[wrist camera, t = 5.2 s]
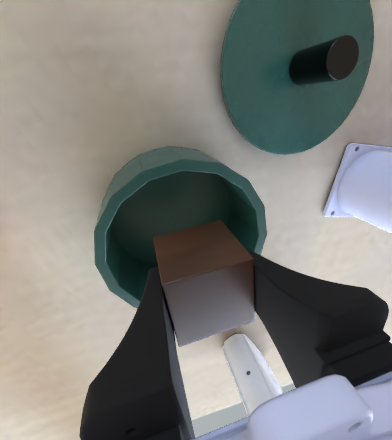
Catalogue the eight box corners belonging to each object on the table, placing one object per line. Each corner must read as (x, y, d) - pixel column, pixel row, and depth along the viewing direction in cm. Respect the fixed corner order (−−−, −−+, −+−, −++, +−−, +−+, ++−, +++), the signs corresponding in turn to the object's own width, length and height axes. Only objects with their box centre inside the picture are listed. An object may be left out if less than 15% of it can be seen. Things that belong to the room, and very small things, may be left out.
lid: (372, -58, 17) (460, -119, 12) (353, 131, 23) (408, 136, 18) (200, -24, 15) (231, -80, 11) (231, 169, 21) (258, 185, 17)
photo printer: (215, 344, 31) (261, 466, 21) (242, 327, 31) (302, 441, 21) (244, 374, 36) (293, 485, 26) (267, 359, 36) (326, 464, 26)
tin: (223, 129, 20) (258, 136, 14) (242, 245, 25) (271, 280, 20) (76, 171, 18) (56, 196, 13) (133, 285, 24) (134, 334, 19)
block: (220, 219, 14) (253, 258, 10) (226, 272, 16) (255, 321, 12) (152, 236, 13) (161, 285, 10) (166, 290, 15) (179, 347, 12)
